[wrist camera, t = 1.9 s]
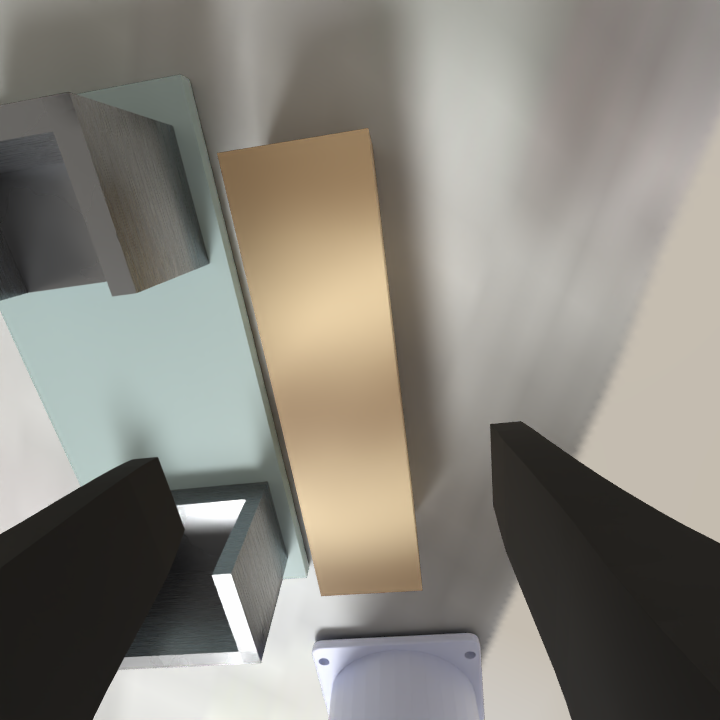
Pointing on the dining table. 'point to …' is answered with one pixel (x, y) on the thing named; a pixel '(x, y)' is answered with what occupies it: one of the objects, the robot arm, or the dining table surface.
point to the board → (160, 353)
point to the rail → (330, 351)
